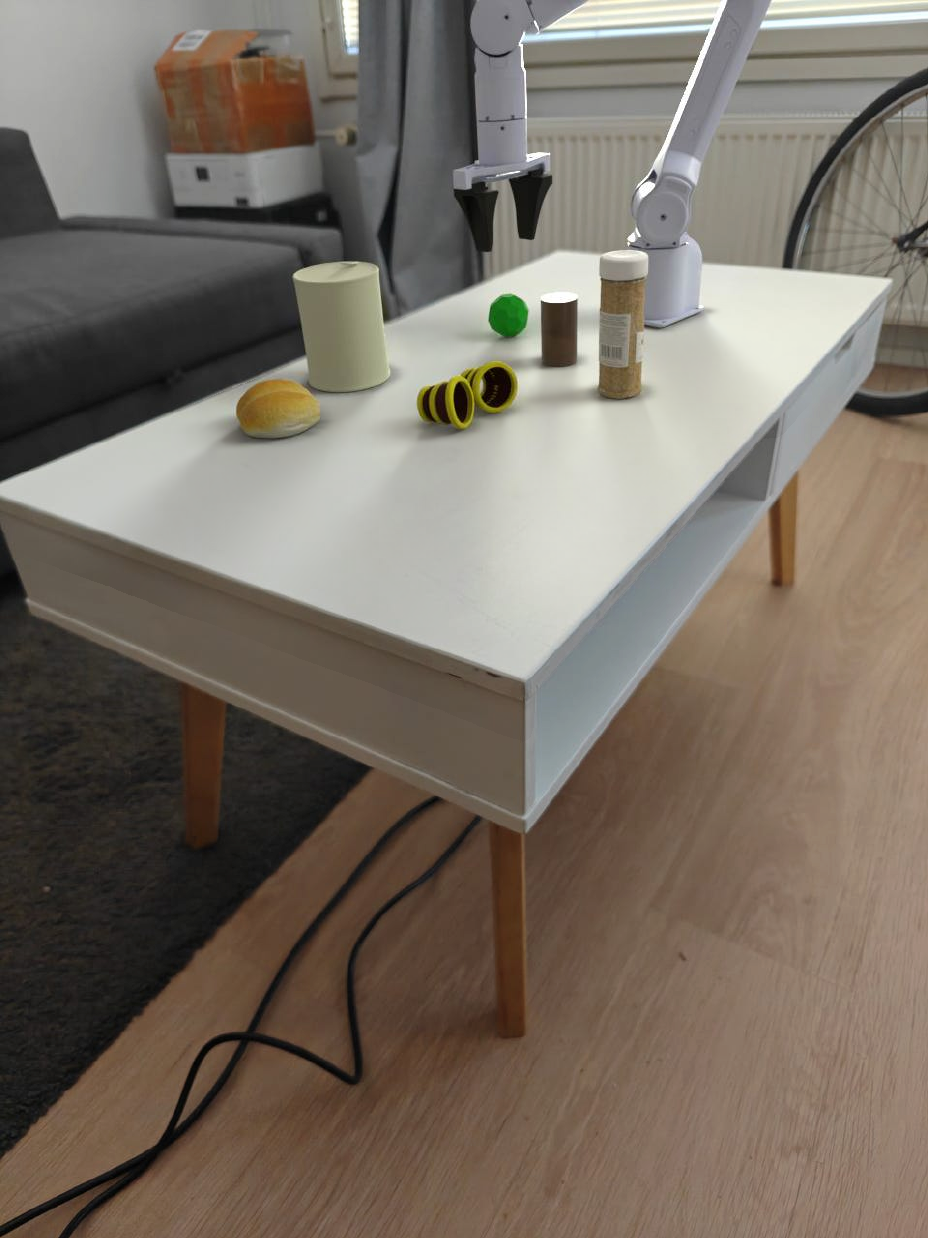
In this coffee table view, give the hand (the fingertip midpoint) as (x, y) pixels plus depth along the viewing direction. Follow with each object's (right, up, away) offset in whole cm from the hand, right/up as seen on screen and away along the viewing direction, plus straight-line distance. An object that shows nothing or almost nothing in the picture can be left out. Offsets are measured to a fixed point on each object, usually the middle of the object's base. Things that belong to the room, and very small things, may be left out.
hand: (505, 244), depth 110 cm
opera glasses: (-5, -26, -21) cm, 34 cm away
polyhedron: (0, -11, +1) cm, 11 cm away
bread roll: (-24, -26, -19) cm, 40 cm away
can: (-18, -19, -9) cm, 28 cm away
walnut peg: (+6, -17, -9) cm, 20 cm away
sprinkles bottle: (+11, -23, -18) cm, 31 cm away
